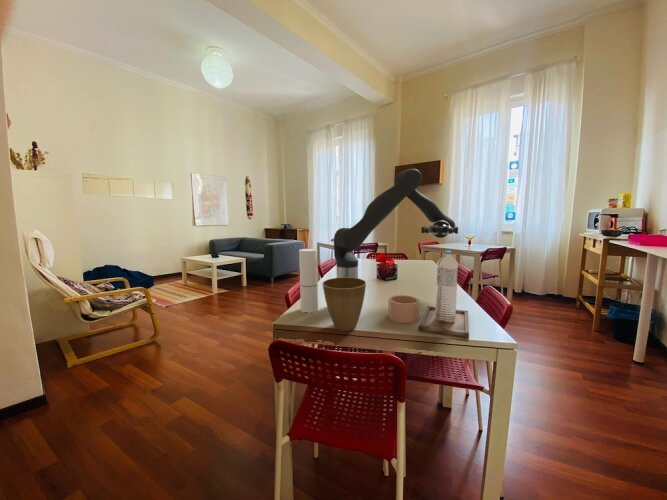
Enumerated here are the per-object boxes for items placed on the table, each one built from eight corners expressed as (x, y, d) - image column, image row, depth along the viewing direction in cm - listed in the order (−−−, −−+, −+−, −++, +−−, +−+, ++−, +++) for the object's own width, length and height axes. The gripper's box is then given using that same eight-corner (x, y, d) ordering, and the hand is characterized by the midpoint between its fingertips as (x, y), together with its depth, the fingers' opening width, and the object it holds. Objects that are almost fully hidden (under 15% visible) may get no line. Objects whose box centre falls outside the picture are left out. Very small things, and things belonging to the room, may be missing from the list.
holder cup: (385, 320, 101) (385, 301, 100) (392, 310, 111) (392, 294, 110) (416, 325, 96) (416, 305, 95) (420, 314, 106) (421, 297, 105)
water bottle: (453, 325, 93) (457, 253, 90) (432, 321, 97) (435, 251, 94) (456, 318, 99) (460, 250, 96) (437, 315, 103) (439, 249, 100)
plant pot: (332, 316, 105) (332, 276, 103) (370, 321, 99) (370, 278, 97) (316, 332, 91) (315, 285, 89) (359, 339, 86) (359, 289, 84)
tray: (418, 330, 91) (418, 325, 91) (426, 309, 111) (426, 305, 111) (468, 338, 85) (469, 333, 85) (467, 315, 105) (468, 310, 104)
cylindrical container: (319, 307, 116) (318, 248, 113) (316, 313, 109) (315, 251, 106) (302, 306, 117) (301, 248, 114) (299, 312, 110) (297, 251, 106)
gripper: (425, 220, 126) (419, 221, 111) (459, 220, 119) (458, 221, 105) (424, 236, 127) (419, 239, 112) (458, 237, 120) (457, 240, 106)
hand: (438, 230), depth 108 cm, fingers open, 8 cm apart
